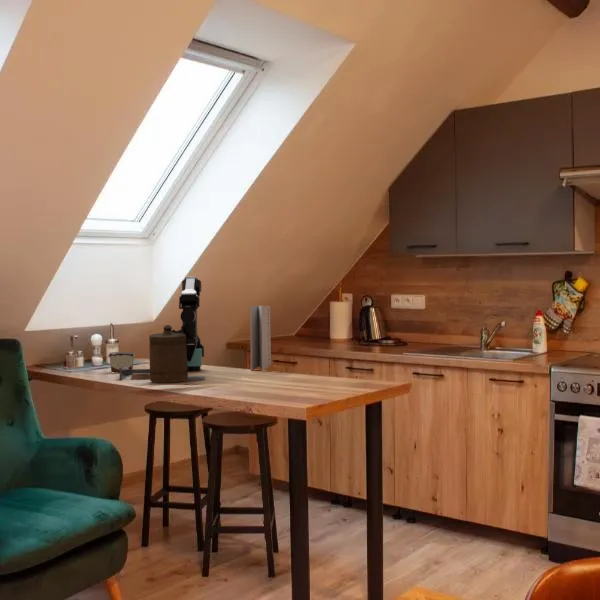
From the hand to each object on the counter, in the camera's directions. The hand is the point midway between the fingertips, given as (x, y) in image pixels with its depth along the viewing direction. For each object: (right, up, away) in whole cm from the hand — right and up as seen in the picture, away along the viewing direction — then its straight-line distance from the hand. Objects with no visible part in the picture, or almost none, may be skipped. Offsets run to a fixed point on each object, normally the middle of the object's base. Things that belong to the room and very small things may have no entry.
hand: (189, 361), depth 323 cm
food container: (-35, -9, +35) cm, 50 cm away
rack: (-19, -8, +12) cm, 24 cm away
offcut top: (-19, -7, +5) cm, 21 cm away
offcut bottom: (-18, -9, +5) cm, 21 cm away
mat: (0, -8, 0) cm, 8 cm away
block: (0, -2, 0) cm, 2 cm away
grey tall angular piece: (+28, -8, +25) cm, 39 cm away
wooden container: (-7, -7, -9) cm, 13 cm away
